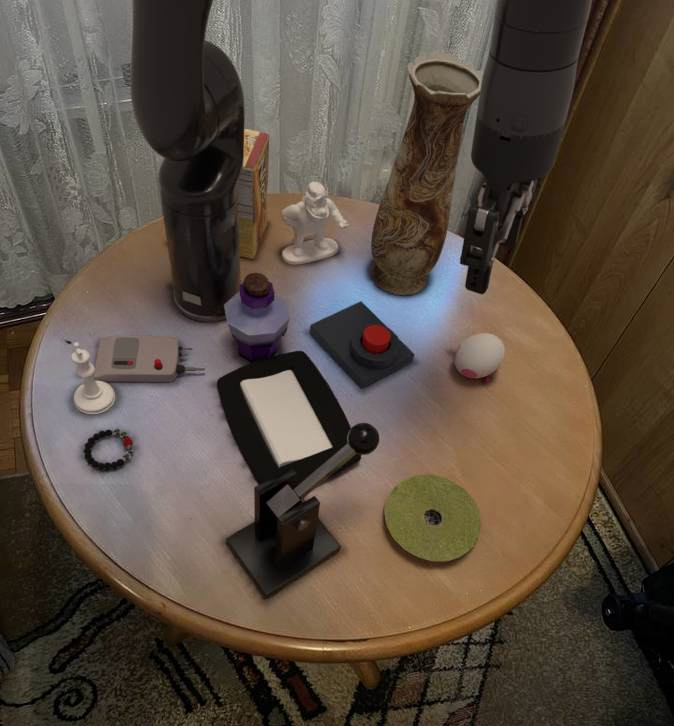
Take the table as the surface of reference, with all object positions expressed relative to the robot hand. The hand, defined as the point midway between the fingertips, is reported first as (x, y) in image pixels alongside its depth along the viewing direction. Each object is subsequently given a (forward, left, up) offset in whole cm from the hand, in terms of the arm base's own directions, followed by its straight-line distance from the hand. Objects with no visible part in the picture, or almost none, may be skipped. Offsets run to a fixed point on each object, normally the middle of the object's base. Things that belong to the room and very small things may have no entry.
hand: (491, 266), depth 69 cm
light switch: (-8, -20, -23) cm, 31 cm away
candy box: (-40, -5, -23) cm, 46 cm away
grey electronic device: (-26, -30, -23) cm, 46 cm away
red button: (-11, -4, -19) cm, 22 cm away
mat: (+13, -14, -23) cm, 30 cm away
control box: (-13, -4, -23) cm, 26 cm away
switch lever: (+6, -24, -12) cm, 28 cm away
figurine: (-32, +2, -23) cm, 40 cm away
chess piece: (-24, -38, -23) cm, 50 cm away
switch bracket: (+6, -30, -23) cm, 38 cm away
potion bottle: (-21, -16, -23) cm, 34 cm away
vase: (-22, +11, -23) cm, 33 cm away
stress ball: (-2, +7, -23) cm, 24 cm away
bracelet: (-16, -40, -23) cm, 48 cm away
